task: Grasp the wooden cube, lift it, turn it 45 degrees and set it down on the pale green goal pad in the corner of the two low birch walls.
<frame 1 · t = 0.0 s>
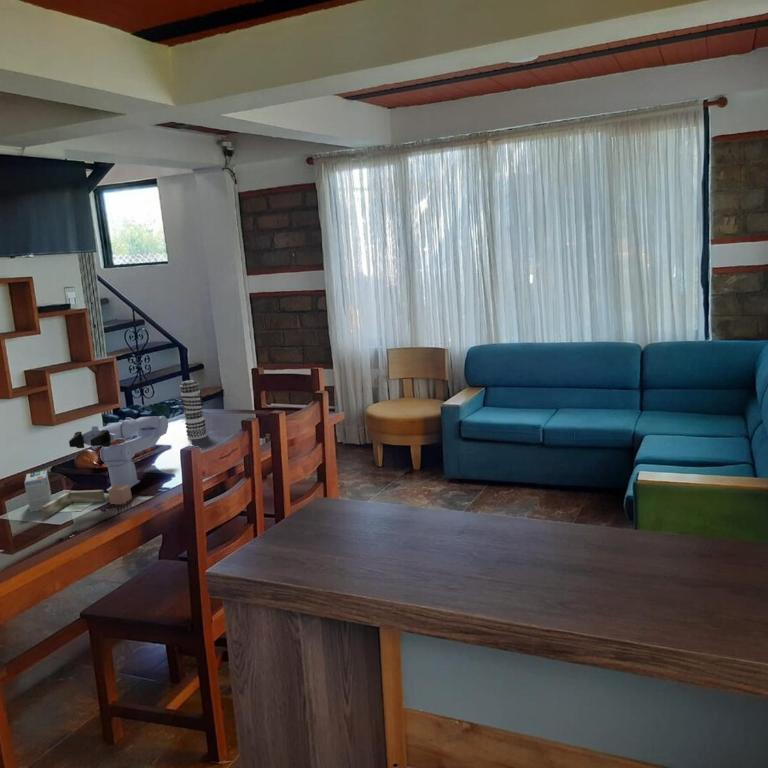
hand: (81, 443, 241), 22 cm above the table, tool horizontal, fingers open, 7 cm apart
decorative candle: (197, 437, 327), on the table
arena: (76, 507, 246), on the table
skincare box: (103, 465, 297), on the table
cube: (121, 501, 248), on the table
light bulb box: (41, 506, 252), on the table
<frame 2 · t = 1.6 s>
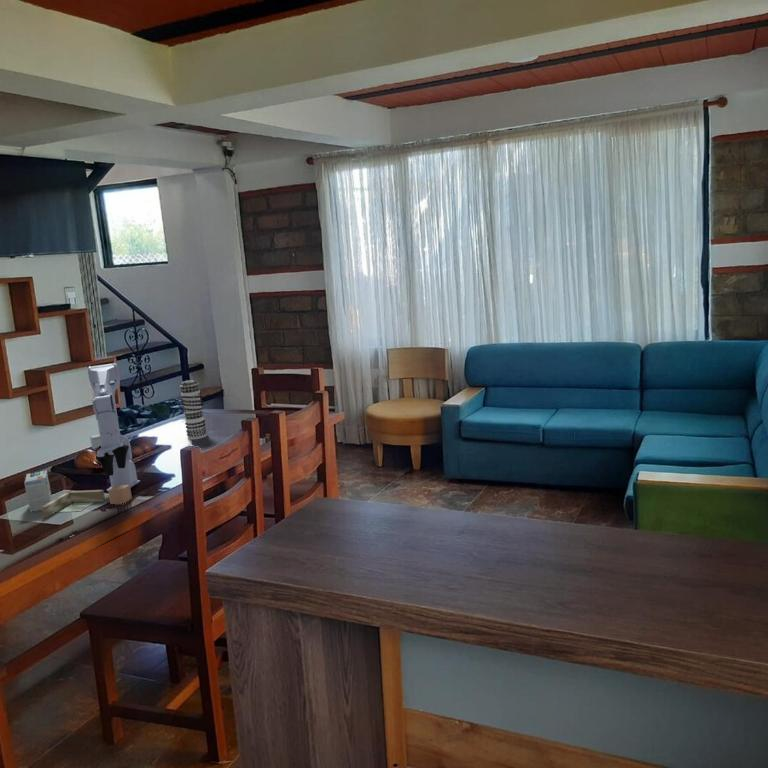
hand: (116, 471, 246), 10 cm above the table, tool pointing down, fingers open, 7 cm apart
nothing on the table moved.
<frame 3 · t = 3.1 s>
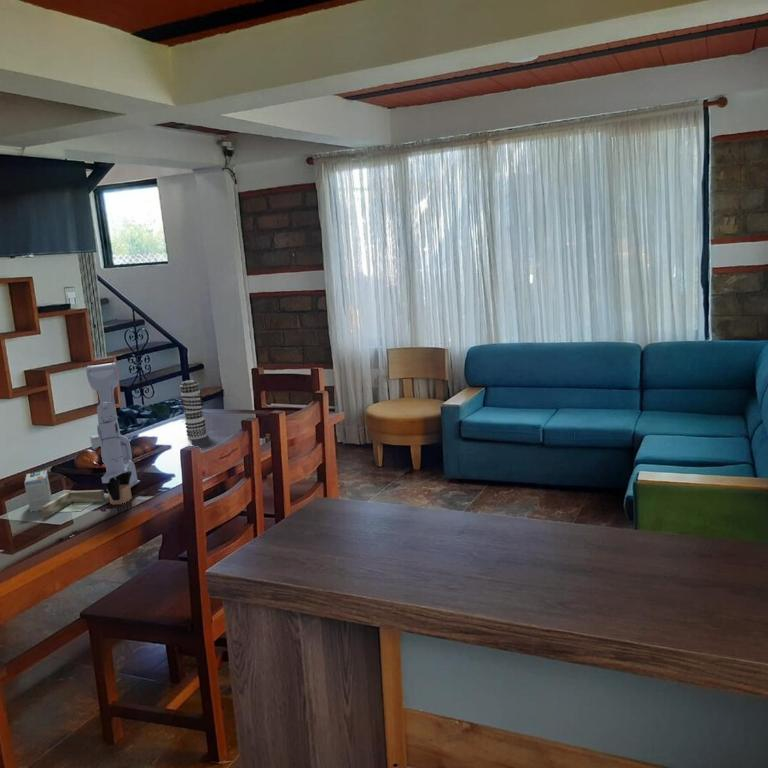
hand: (120, 496, 247), 2 cm above the table, tool pointing down, fingers closed on cube, 5 cm apart
cube: (121, 501, 248), on the table, touching gripper
everything else where it was.
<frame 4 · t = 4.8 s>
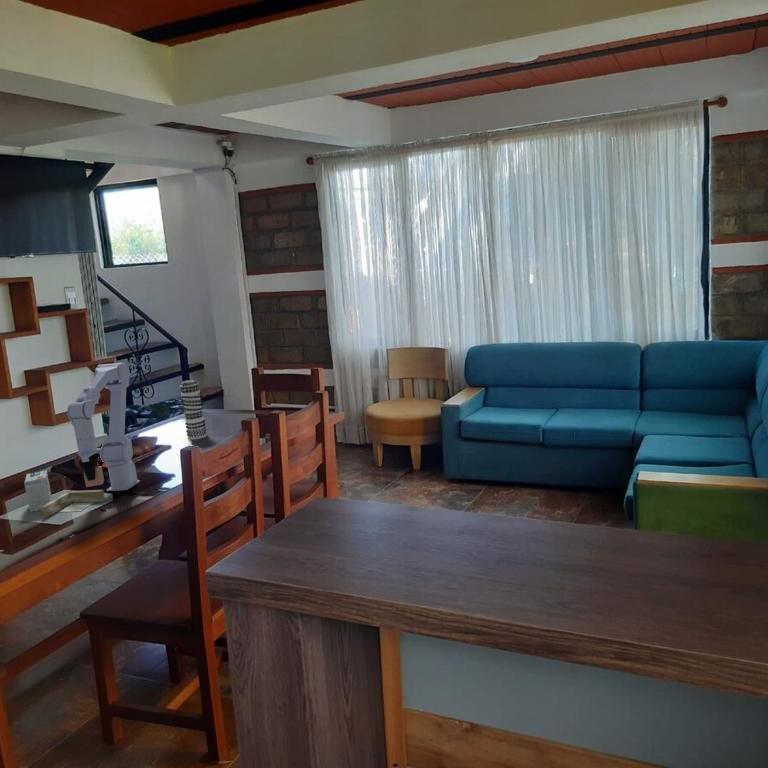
hand: (92, 477, 245), 9 cm above the table, tool pointing down, fingers closed on cube, 5 cm apart
cube: (95, 483, 246), point 7 cm above the table, touching gripper
everything else where it was.
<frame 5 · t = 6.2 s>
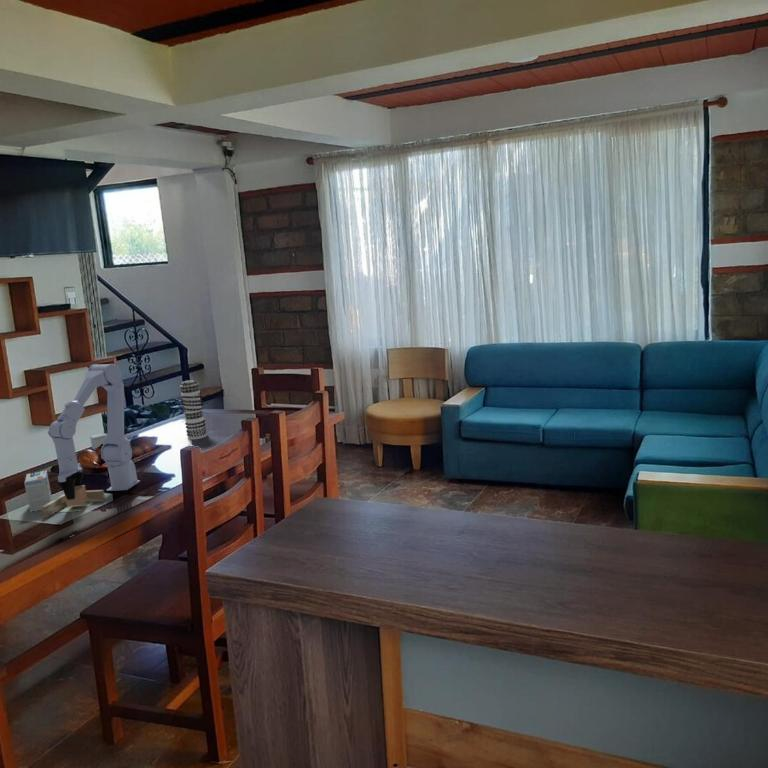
hand: (74, 496, 246), 4 cm above the table, tool pointing down, fingers closed on cube, 5 cm apart
cube: (77, 502, 246), point 2 cm above the table, touching gripper
everything else where it was.
when the fingers open (3 cm above the table, at t = 7.0 s): cube stays where it is, resting on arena.
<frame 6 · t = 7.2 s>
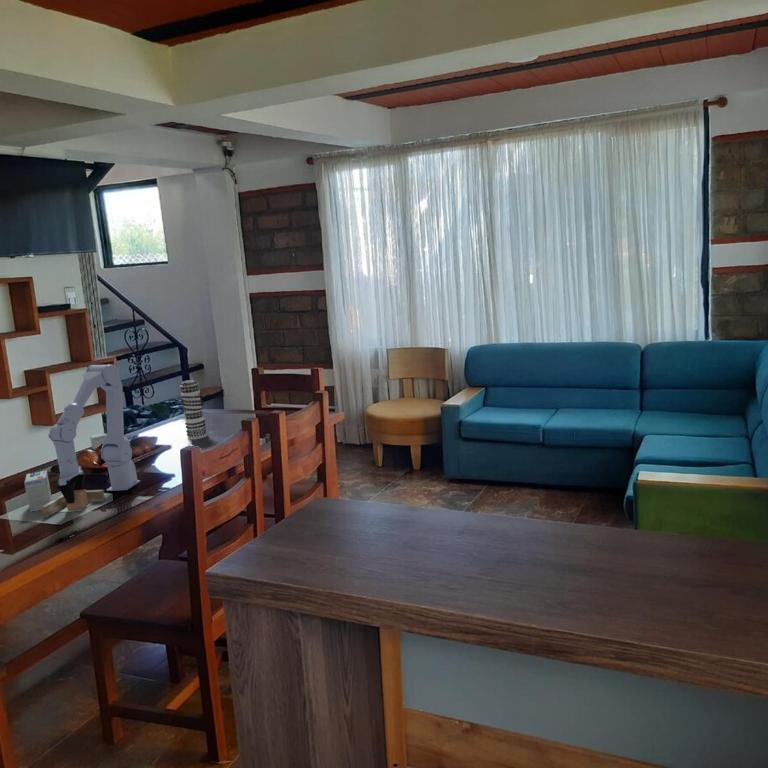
hand: (74, 499, 246), 3 cm above the table, tool pointing down, fingers open, 7 cm apart
cube: (78, 506, 246), resting on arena
everything else where it was.
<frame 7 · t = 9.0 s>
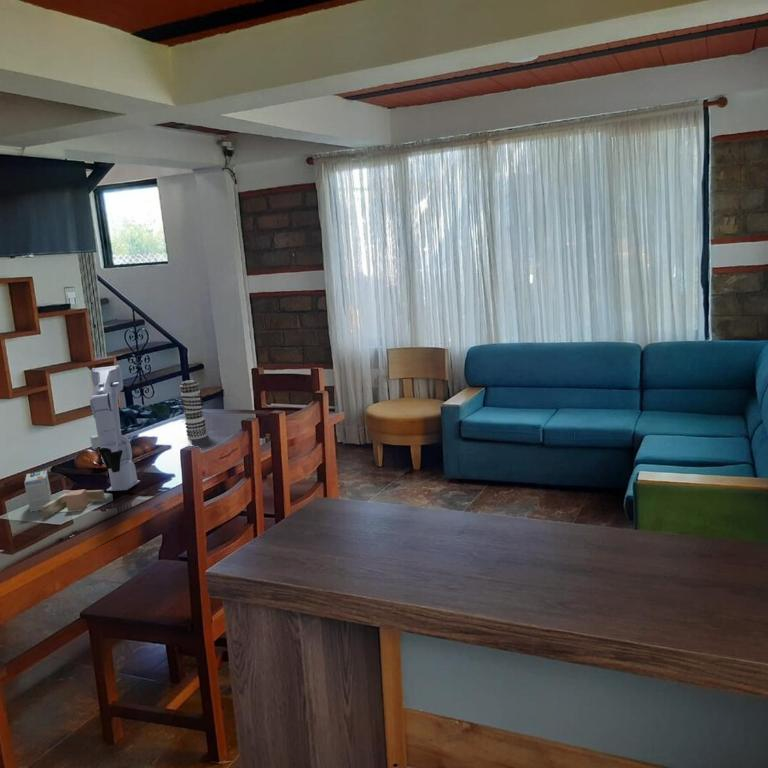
hand: (113, 469, 248), 10 cm above the table, tool pointing down, fingers open, 7 cm apart
nothing on the table moved.
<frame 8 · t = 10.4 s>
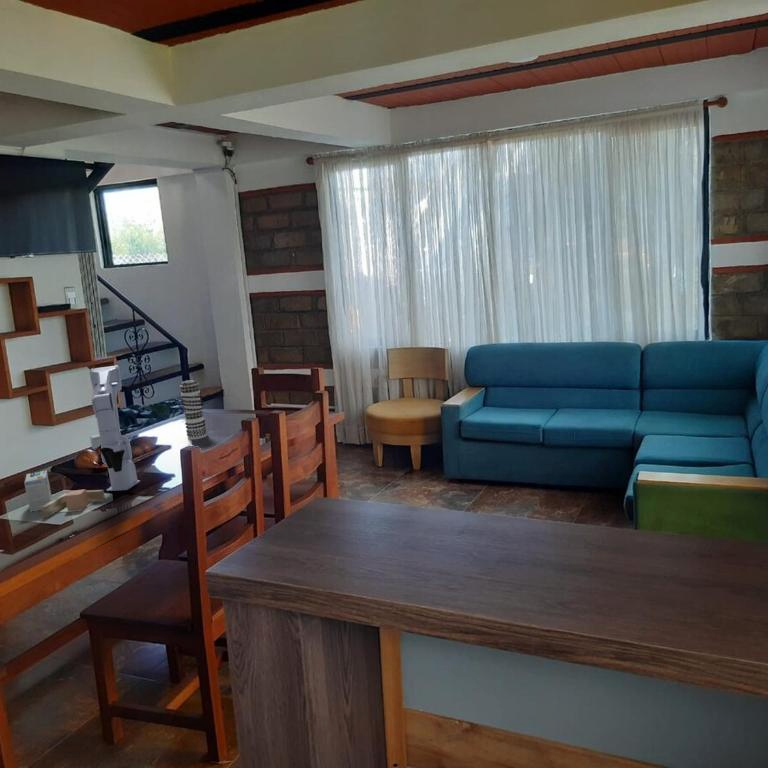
hand: (115, 469, 248), 10 cm above the table, tool pointing down, fingers open, 7 cm apart
nothing on the table moved.
at the end: cube 0.6 cm off-centre on the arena, point 0.1 cm above the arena's base; cube tilted 0°; the gripper is holding nothing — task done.
